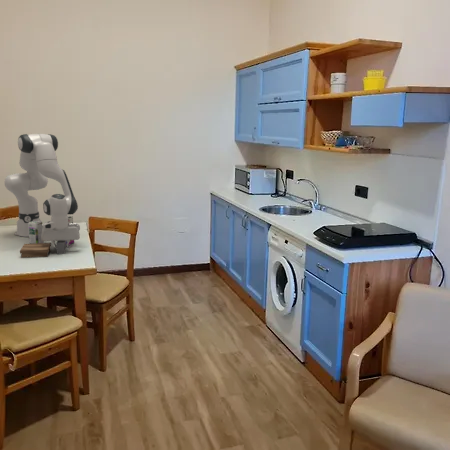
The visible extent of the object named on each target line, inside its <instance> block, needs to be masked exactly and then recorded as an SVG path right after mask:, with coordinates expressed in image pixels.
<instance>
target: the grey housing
mask: <svg viewBox="0 0 450 450" xmlns="http://www.w3.org/2000/svg"><path fill="white" fill-rule="evenodd" d="M55 244H56V247H57V248H56V255H65V253H66V252H67V248H65V244H66V240H62V241H56V242H55Z"/></svg>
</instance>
